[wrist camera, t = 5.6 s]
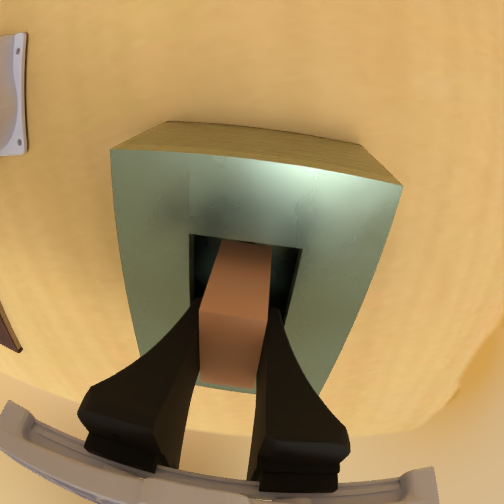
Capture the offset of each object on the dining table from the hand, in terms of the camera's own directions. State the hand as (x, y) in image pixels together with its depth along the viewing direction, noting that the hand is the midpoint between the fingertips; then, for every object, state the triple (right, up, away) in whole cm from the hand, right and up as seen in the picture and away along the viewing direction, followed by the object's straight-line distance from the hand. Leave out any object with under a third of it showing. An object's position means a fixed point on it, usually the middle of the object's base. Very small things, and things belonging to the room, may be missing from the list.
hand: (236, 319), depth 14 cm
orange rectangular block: (0, +2, +2) cm, 3 cm away
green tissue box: (+1, +4, +6) cm, 7 cm away
